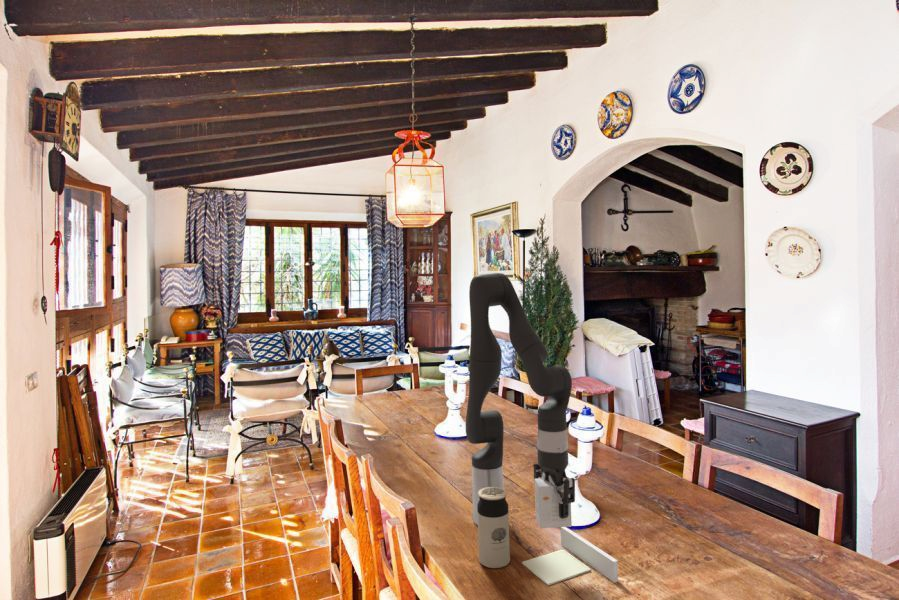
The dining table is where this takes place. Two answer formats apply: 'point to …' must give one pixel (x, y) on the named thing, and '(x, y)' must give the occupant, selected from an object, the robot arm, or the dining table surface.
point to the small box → (549, 506)
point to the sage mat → (556, 567)
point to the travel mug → (493, 527)
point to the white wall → (590, 554)
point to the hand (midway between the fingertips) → (554, 511)
